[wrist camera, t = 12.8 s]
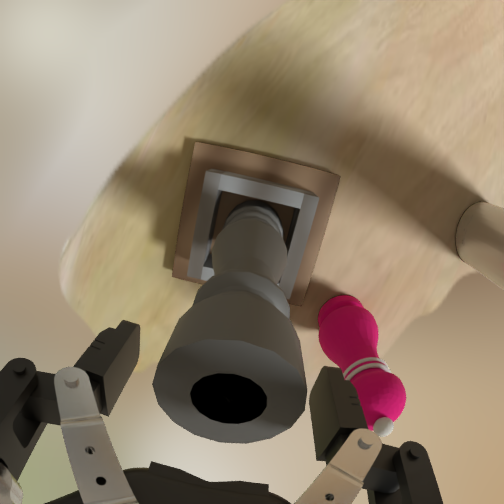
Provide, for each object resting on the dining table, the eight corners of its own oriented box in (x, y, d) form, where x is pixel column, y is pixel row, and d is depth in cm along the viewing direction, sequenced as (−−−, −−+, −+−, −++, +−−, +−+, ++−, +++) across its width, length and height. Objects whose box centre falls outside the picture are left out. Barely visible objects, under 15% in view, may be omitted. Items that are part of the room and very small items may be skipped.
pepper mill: (318, 289, 37) (358, 408, 19) (372, 292, 37) (439, 400, 18) (310, 337, 40) (333, 461, 21) (359, 338, 40) (405, 452, 21)
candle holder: (286, 248, 34) (320, 437, 11) (232, 259, 35) (180, 448, 11) (275, 194, 32) (303, 316, 9) (219, 206, 33) (119, 341, 9)
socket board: (337, 175, 33) (350, 179, 28) (300, 300, 38) (304, 323, 33) (198, 142, 32) (186, 140, 27) (175, 272, 38) (162, 291, 32)
